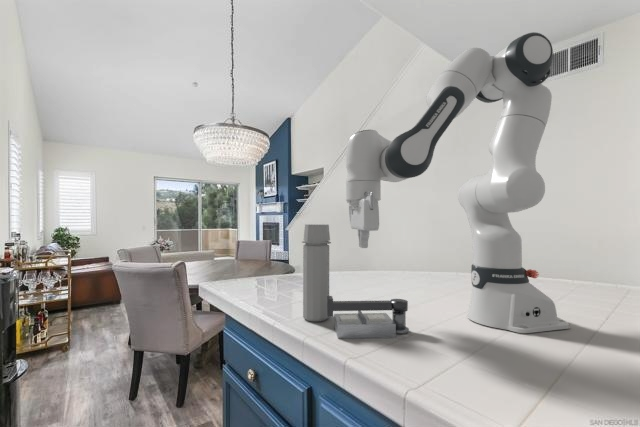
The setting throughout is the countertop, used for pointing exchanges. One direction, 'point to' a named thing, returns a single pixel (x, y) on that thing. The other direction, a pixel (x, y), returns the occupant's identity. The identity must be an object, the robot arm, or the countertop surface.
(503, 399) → the countertop surface
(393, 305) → the bar
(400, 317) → the grey round knob
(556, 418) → the countertop surface
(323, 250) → the water bottle
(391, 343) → the countertop surface
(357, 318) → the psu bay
